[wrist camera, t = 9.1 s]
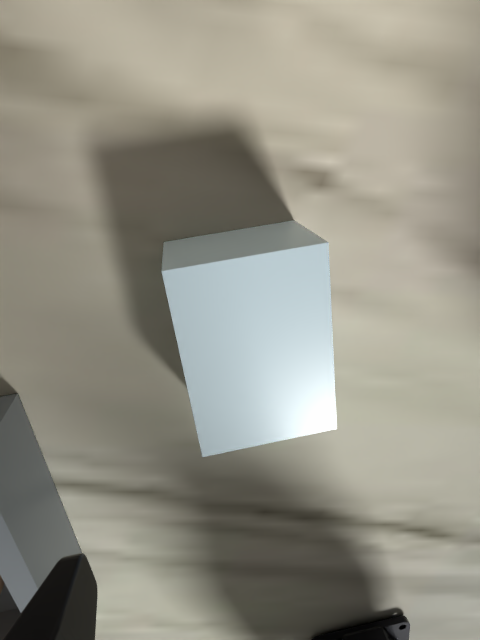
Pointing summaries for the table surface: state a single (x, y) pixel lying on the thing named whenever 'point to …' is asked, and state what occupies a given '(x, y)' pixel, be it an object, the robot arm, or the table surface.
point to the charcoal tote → (26, 514)
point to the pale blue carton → (253, 333)
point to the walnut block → (1, 584)
